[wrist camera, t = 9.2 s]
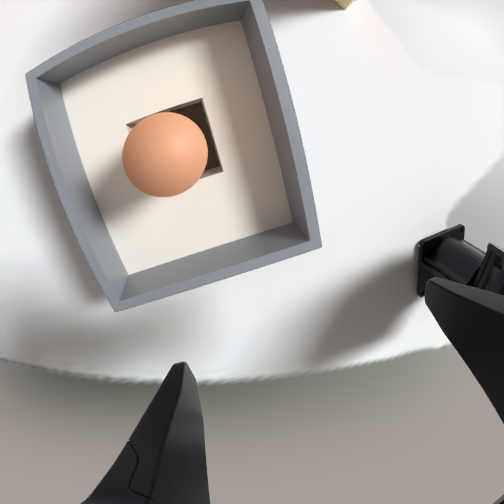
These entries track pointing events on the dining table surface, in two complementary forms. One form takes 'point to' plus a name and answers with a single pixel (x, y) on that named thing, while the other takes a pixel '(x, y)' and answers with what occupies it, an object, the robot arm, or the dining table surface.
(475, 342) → the robot arm
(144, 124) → the peg
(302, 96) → the dining table surface
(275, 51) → the box
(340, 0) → the milk carton
